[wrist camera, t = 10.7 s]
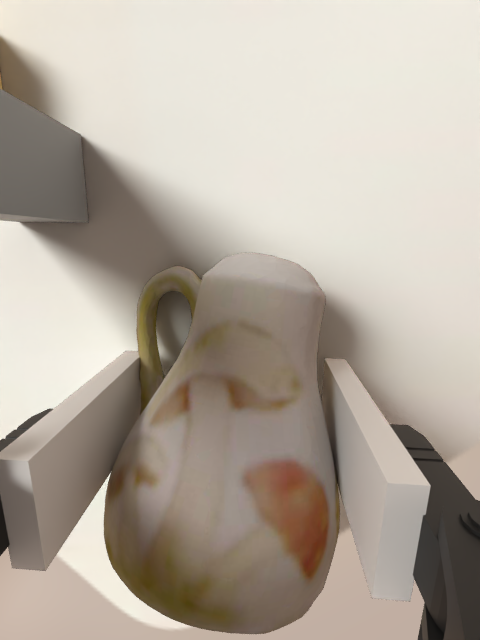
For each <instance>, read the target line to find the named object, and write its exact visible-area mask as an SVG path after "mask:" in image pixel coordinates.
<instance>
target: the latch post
mask: <svg viewBox="0 0 480 640" xmlns="http://www.w3.org/2000/svg"><path fill="white" fill-rule="evenodd" d="M0 220H3V221H16V222H89V220H88V209H87V197H86V186H85V175H84V164H83V153H82V142H81V135H80V134H79V133H77V132H75V131H73V130H72V129H70V128H68V127H66V126H65V125H63V124H61V123H59V122H58V121H56V120H54V119H53V118H51V117H49V116H47V115H46V114H44V113H42V112H40V111H39V110H37V109H35V108H33V107H32V106H30V105H28V104H26V103H25V102H23V101H21V100H19V99H18V98H16V97H14V96H12V95H11V94H9V93H7V92H5V91H4V90H3V89H2V82H1V74H0Z"/></svg>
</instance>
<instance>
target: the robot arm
mask: <svg viewBox="0 0 480 640" xmlns="http://www.w3.org/2000/svg"><path fill="white" fill-rule="evenodd" d="M139 371H140V356H139V353H138V351H125V352H124V353H123V354H121V355H120V356H119V357H118V358H116V359H115V360H114V361H113V362H111V363H110V364H109V365H108V366H106V367H105V368H104V369H103V370H101V371H100V372H99V373H98V374H96V375H95V376H94V377H93V378H91V379H90V380H89V381H88V382H86V383H85V384H84V385H83V386H82V387H80V388H79V389H78V390H77V391H75V392H74V393H73V394H72V395H70V396H69V397H68V398H67V399H65V400H64V401H63V402H62V403H60V404H59V405H58V406H57V407H55V408H54V409H47V410H45V411H43V412H41V413H39V414H37V415H35V416H32V417H31V418H29V419H28V420H27V421H25V422H24V423H23V424H21V425H20V426H19V427H18V428H17V430H14V431H12V432H11V433H10V434H8V435H7V436H6V438H5V439H2V440H0V556H1V554H2V553H3V552H4V551H5V550H6V548H7V547H8V549H9V554H10V559H11V565H12V568H16V569H29V570H40V571H46V570H47V568H48V566H49V565H50V563H51V562H52V560H53V559H54V557H55V556H56V554H57V553H58V551H59V550H60V548H61V547H62V545H63V544H64V542H65V541H66V539H67V538H68V536H69V535H70V533H71V532H72V530H73V529H74V527H75V526H76V524H77V523H78V521H79V519H80V518H81V516H82V515H83V513H84V512H85V510H86V509H87V507H88V506H89V504H90V503H91V501H92V500H93V498H94V497H95V495H96V494H97V492H98V491H99V489H100V488H101V486H102V485H103V483H104V482H105V480H106V479H107V477H108V476H109V474H110V473H111V471H112V469H113V466H114V463H115V461H116V459H117V456H118V454H119V452H120V450H121V448H122V446H123V443H124V441H125V439H126V438H127V436H128V434H129V432H130V431H131V429H132V427H133V426H134V424H135V423H136V421H137V419H138V418H139V416H140V410H141V385H140V380H139ZM321 403H322V407H323V412H324V416H325V421H326V427H327V432H328V436H329V441H330V445H331V451H332V455H333V460H334V465H335V470H336V477H337V484H338V487H339V490H340V494H341V497H342V500H343V504H344V507H345V511H346V514H347V517H348V521H349V524H350V527H351V531H352V534H353V537H354V540H355V544H356V547H357V551H358V554H359V557H360V561H361V564H362V567H363V571H364V574H365V577H366V581H367V584H368V588H369V591H370V594H371V598H374V599H386V600H399V601H409V602H410V600H411V595H412V589H413V583H414V579H415V581H416V583H417V586H418V588H419V590H420V592H421V595H422V597H423V599H424V602H425V604H424V610H423V615H422V620H421V625H420V630H419V635H418V640H480V501H478V500H475V498H474V497H473V496H472V495H471V494H470V492H469V491H468V490H467V489H466V487H465V486H464V485H463V484H462V482H461V481H460V480H459V479H458V477H457V476H456V475H455V474H454V473H453V471H452V470H451V469H450V468H449V466H448V465H447V464H446V463H445V462H443V459H442V458H441V456H440V455H439V454H438V453H437V452H436V451H434V448H433V447H432V445H431V444H430V443H429V442H428V440H427V439H426V438H425V437H424V436H423V435H422V434H420V433H419V432H417V431H416V430H414V429H413V428H411V427H410V426H408V425H392V424H389V423H388V422H387V420H386V419H385V417H384V416H383V414H382V413H381V411H380V410H379V408H378V407H377V405H376V404H375V402H374V401H373V399H372V398H371V396H370V395H369V393H368V392H367V390H366V389H365V387H364V386H363V385H362V383H361V382H360V380H359V379H358V377H357V376H356V374H355V373H354V371H353V370H352V368H351V367H350V365H349V364H348V362H347V361H346V359H330V358H325V362H324V374H323V387H322V400H321Z"/></svg>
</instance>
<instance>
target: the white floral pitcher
mask: <svg viewBox="0 0 480 640" xmlns="http://www.w3.org/2000/svg"><path fill="white" fill-rule="evenodd" d="M168 291H178V292H181V293H183V295H184V296H185V297H186V298H187V300H188V302H189V304H190V308H191V315H192V323H191V327H190V330H189V333H188V337H187V339H186V342H185V344H184V346H183V348H182V350H181V352H180V355H179V357H178V358H177V360H176V361H175V363H174V365H173V366H172V368H171V369H170V371H169V372H168V374H167V375H166V377H165V379H164V376H163V373H162V367H161V362H160V357H159V351H158V346H157V335H156V317H157V307H158V302H159V300H160V298H161V296H162V295H164V294H165V293H166V292H168ZM325 303H326V299H325V295H324V293H323V291H322V290H321V288H320V287H319V285H318V283H317V282H316V280H315V278H314V277H313V276H312V275H311V273H310V272H308V271H307V270H306V269H304V268H303V267H301V266H300V265H298V264H296V263H294V262H291V261H288V260H285V259H281V258H278V257H275V256H272V255H265V254H258V253H246V252H245V253H238V254H234V255H230V256H227V257H225V258H223V259H222V260H221V261H219V262H218V263H217V264H216V265H215V266H214V267H213V268H212V269H210V270H209V271H208V272H206V273H205V274H204V275H203V278H202V281H201V280H200V278H199V277H198V276H197V275H196V274H195V273H194V272H193V271H192V270H190V269H187V268H185V267H182V266H173V267H171V268H168V269H166V270H163V271H161V272H159V273H157V274H156V275H154V276H153V277H152V278H151V279H150V280H149V281H148V283H147V284H146V285H145V287H144V289H143V291H142V294H141V296H140V298H139V301H138V306H137V340H138V353H139V356H140V371H139V380H140V385H141V410H140V416H139V418H138V419H137V421H136V423H135V424H134V426H133V427H132V429H131V431H130V432H129V434H128V436H127V438H126V439H125V441H124V443H123V446H122V448H121V450H120V452H119V454H118V456H117V459H116V461H115V463H114V466H113V469H112V472H111V475H110V479H109V482H108V486H107V492H106V499H105V512H104V539H105V544H106V549H107V553H108V557H109V560H110V562H111V565H112V567H113V569H114V570H115V572H116V573H117V574H118V576H119V577H120V579H121V580H122V581H123V582H124V583H125V585H126V586H127V587H128V589H129V590H130V591H131V592H132V593H133V594H134V595H135V596H136V597H137V598H139V599H140V600H141V601H143V602H144V603H146V604H147V605H148V606H150V607H151V608H153V609H155V610H156V611H158V612H160V613H161V614H163V615H165V616H167V617H169V618H171V619H173V620H175V621H178V622H181V623H184V624H187V625H190V626H193V627H197V628H201V629H206V630H212V631H219V632H227V633H240V634H264V633H268V632H271V631H274V630H277V629H279V628H281V627H284V626H286V625H288V624H290V623H292V622H294V621H296V620H297V619H299V618H301V617H302V616H303V615H304V614H305V613H306V612H307V611H308V609H309V608H310V607H311V605H312V604H313V602H314V601H315V599H316V598H317V597H318V595H319V594H320V593H321V591H322V590H323V588H324V585H325V581H326V578H327V575H328V573H329V569H330V566H331V562H332V559H333V555H334V551H335V547H336V543H337V538H338V533H339V522H340V505H339V493H338V485H337V477H336V470H335V465H334V460H333V455H332V451H331V445H330V441H329V436H328V432H327V427H326V421H325V416H324V412H323V407H322V403H321V398H320V393H319V388H318V382H317V352H318V344H319V332H320V327H321V322H322V318H323V313H324V308H325Z"/></svg>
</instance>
